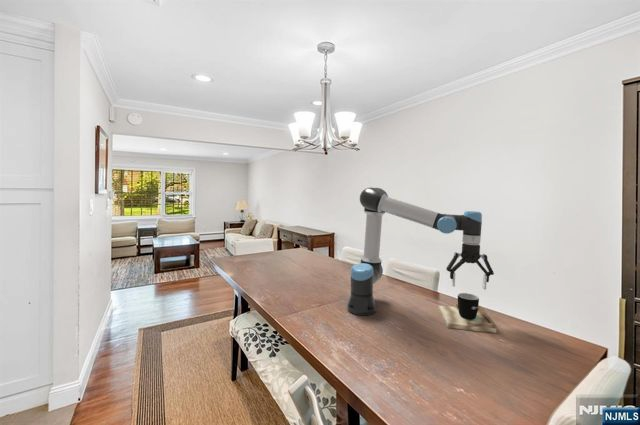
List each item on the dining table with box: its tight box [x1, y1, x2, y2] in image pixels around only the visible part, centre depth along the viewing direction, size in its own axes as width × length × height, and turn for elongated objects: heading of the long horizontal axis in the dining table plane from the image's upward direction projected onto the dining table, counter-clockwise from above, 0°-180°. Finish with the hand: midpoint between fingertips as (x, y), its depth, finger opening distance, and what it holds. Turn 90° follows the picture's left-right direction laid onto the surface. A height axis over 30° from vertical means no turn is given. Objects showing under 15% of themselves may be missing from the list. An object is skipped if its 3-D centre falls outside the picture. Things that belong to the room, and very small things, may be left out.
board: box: [438, 303, 498, 334], centre depth 132 cm, size 20×21×4 cm
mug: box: [457, 292, 480, 320], centre depth 131 cm, size 12×9×10 cm
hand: (468, 287), depth 131 cm, fingers open, 13 cm apart
